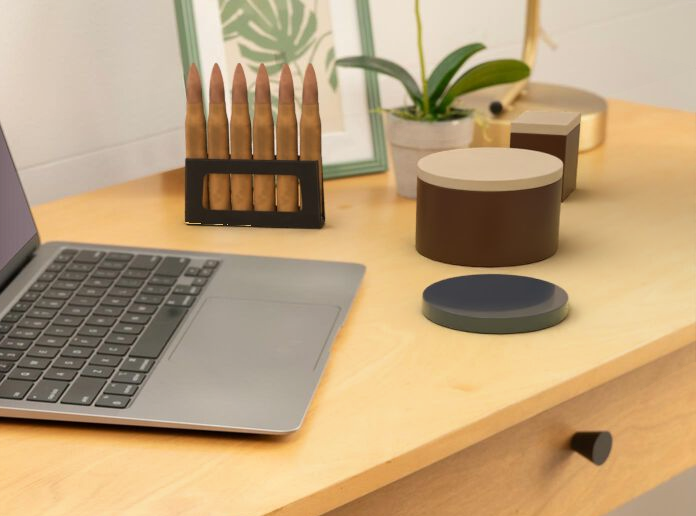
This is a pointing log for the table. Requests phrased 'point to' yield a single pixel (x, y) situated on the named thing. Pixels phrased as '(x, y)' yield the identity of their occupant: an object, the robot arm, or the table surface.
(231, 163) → the ammunition clip
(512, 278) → the plate
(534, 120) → the cake slice
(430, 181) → the cake
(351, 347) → the table surface
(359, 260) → the table surface
